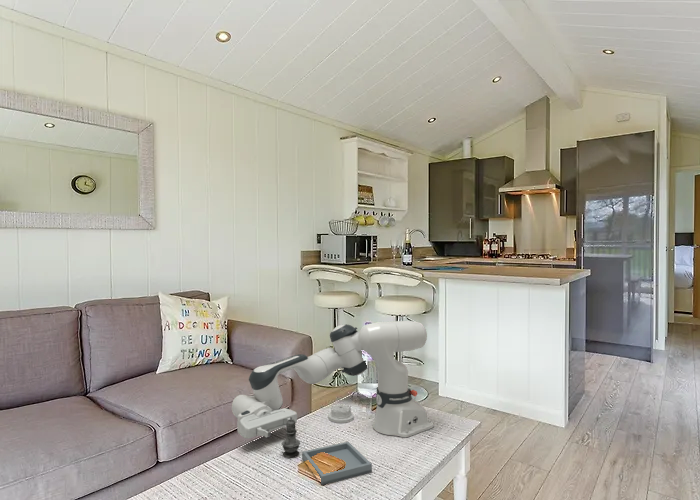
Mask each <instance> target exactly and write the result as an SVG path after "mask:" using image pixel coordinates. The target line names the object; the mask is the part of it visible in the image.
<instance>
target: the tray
mask: <svg viewBox="0 0 700 500" xmlns="http://www.w3.org/2000/svg"><path fill="white" fill-rule="evenodd" d="M320 452H325V453H328V454H330V455H332V456H335V457H337V458H339V459H342V460H344V461H345V462H346V466H345V468H344V469H342V470H338V471H334V472H330V473H326V474H323V472H322V471H321V470H320V469H319V468H318V466H317V465H316V464H315V463H314V461H313V460H312V459H311V458H310V457H312V456H314V455H316V454H317V453H320ZM301 455H302V456H301V460H302V461H303V462H304V461H306V460H309V462H310V463H311V464H312V466H313V467H314V468H315V470H316V471H317V473H318V474H319V476H320V478H321V484H322V485H321V484H320V485H321V486H324V485H328V484H331V483H332V484H333V483H336V482H340V481H343V480H348V479H351V478H355V477H359V476H362V475H365V474H366V475H367V474H371V473H373V470H372V469H373V465H372V463H371V461H369V460H368V459H367V458H366V457H365V456H364V455H363V454H362V453H361V452H360V451H359V450H358V449H357V448H355V446H354V445H352V443H351V442H349V441H344V442H340V443H337V444H332V445H326V446H322V447H317V448H313V449H309V450H304V451H301Z"/></svg>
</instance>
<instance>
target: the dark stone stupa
mask: <svg viewBox="0 0 700 500" xmlns="http://www.w3.org/2000/svg"><path fill="white" fill-rule="evenodd" d="M284 433H285V434H286V436H285V439H284V440H283V441H282V442H281V446H282V449H283V453H282V456H283V457H284V458H287V459H294V458H297V457H299V455H300V451H298V450H299V448H300V444H301V442H300V441H301V440H299V439H297V434H296V433H297V429H296V423H295V421H294V420H292V417H291V418H290V420H288V421H287V426H286V430H285V432H284Z"/></svg>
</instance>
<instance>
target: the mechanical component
mask: <svg viewBox="0 0 700 500" xmlns="http://www.w3.org/2000/svg"><path fill="white" fill-rule="evenodd" d="M330 409H331V410H330V412H329V413H328V414H327V419H328V420H329V421H330V422H331V423H336V424H347V423H351V422H352V421H353V420H354V419H355V415H354V413H353V412H352V408H351V406H350V405H347V404H344V403H343V404H341V403H340V404H335V405H332V406H331V408H330Z"/></svg>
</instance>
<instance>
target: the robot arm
mask: <svg viewBox="0 0 700 500" xmlns="http://www.w3.org/2000/svg"><path fill="white" fill-rule="evenodd" d="M329 338H330V342H331V343H332V345H333V347H327V348H324V349H321V350H319V351H317V352H315V353H313V354H311V355H309V356H307V355H306V354H302V353H300V354H295V355H291V356H289V357H285V358H282V359H280V360H276V361H274V362H270V363H268V364H264V365H259V366H256V367H255V368H253V369H252V371H251V373H250V375H249V377H248V381H249V385H250V387H251V389H252V392H253V395H246V394H238V395H236V397H234V398H233V400H232V404H231V411H232V414H233V415H234V417H235V418H236V419H237V423H236V427H237V433H238V434H239V435H240V436H241V437H242V438H244V439H247V440H249V439H252V438H256V437H265V438H269V437H271V436H272V435H271V433H272V432H274V431H276V430H279V429H283V428H285V427H286V428H287V421H288V420H290V418H291V417H292V420H294V421H295V424H296V423H297V421H298V414H297V411H294V410H292V409H289V408H284V407H283V403H284V399H283V396H282V392H281V390H280V389H281V388H280V386H279V381H278V379H279V378H278V377H279V375H281V374H283V373H285V372H288V371H291V370H294V371H295V372H296V374H297V376H298V377H299V378H300V379H301V380H302V381H304V382H305V383H307V384H310V385H314V384H318V383H320V382H322V381H324V380H325V379H327V378H328V377H329V376H331V375H332V374H333V373H334V372H335V371H337V370H338V369H341V372H340V373H342V374H346V375H348V376H352V377H353V376H354V377H355V376H359V375H362V374H363V372H364V371H365V370H368V368H367V365H366V363H365V361H363V358H362V351H361V350H364V351H365V353H367V354H368V355H369V356H370V357H371V358H372V359H373V361H374V364H375V367H376V373H377V387H376V391H375V392H376V396H375V397H376V411H375V418H374V421H373V425H372V428H373V429H374V430H375V432H378V433H380V434H383V435H388V436H398V437H401V438H409V437H411V436H414V435H417V434H420V433H423V432H425V431H428V430H430V429H434V427H435V426H434V425H435V424H434V423H433V420H432V419H430V418H428V412H427V411H426V409H425V407H424V406H423V405H422V404H420V403H419V402H418V401H416V400H415V398H416V397H417V395H418V394H419V393H418V391H417V390H415V389H412V388H409V371H408V367H407V366H406V364H404V363H403V362H402V361H399V360H398V359H395V356H394V355H395V353H400V352H410V351H414V350H418V349H422V348H424V346H425V344H426V342H427V339H428V333H427V329H426V328H425V326H424V324H423V323H421V322H420V321H415V320H393V321H379V322H377V321H376V322H371V323H368V324H364V325H363V326H362V327H361V328H360V330H358V328H357V327H354V326H353V325H350V324H339V325H337V326H336V327H334V328H333V329H332V330H331V331H330V333H329ZM365 372H366V371H365ZM365 372H364V373H365ZM413 397H415V398H413ZM282 407H283V408H282Z"/></svg>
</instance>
